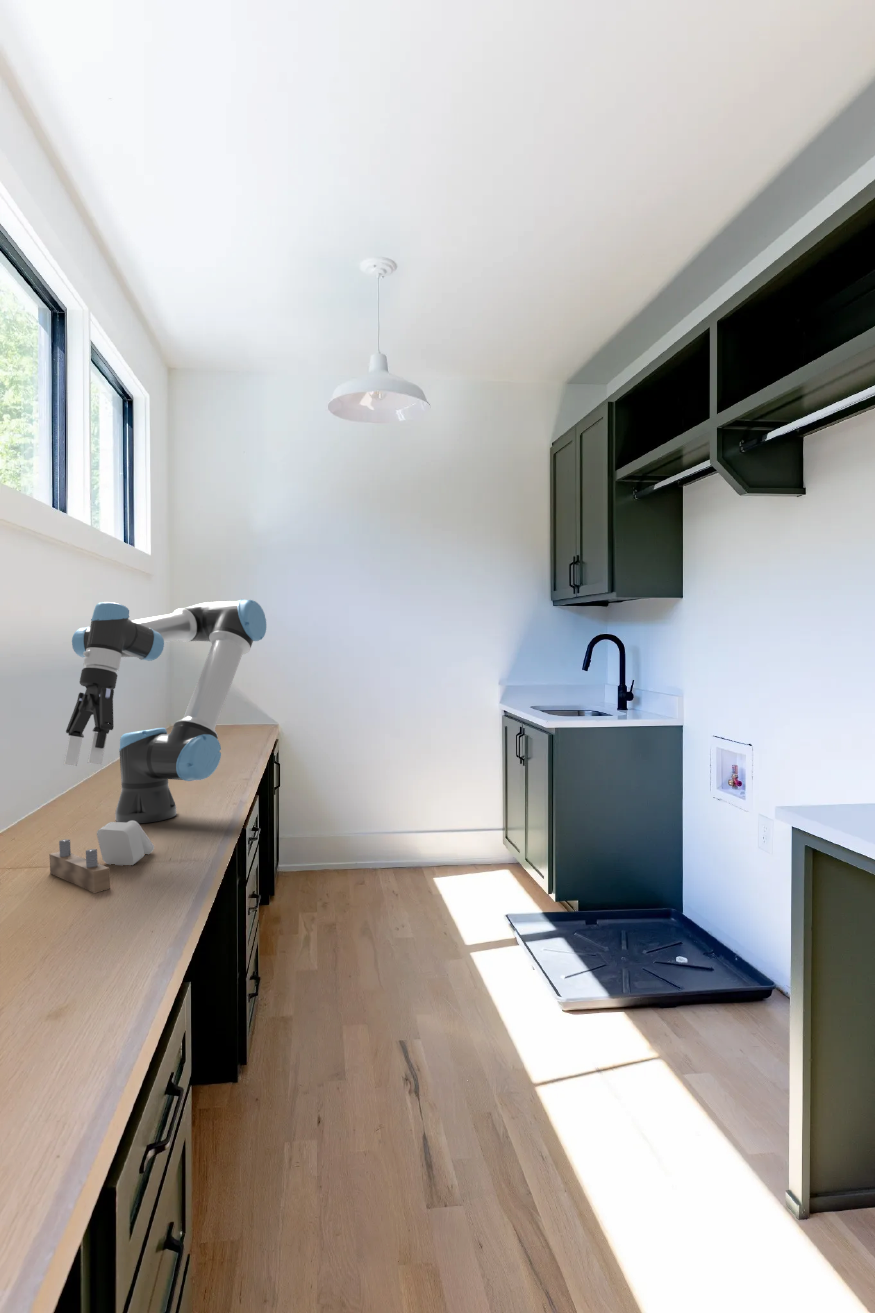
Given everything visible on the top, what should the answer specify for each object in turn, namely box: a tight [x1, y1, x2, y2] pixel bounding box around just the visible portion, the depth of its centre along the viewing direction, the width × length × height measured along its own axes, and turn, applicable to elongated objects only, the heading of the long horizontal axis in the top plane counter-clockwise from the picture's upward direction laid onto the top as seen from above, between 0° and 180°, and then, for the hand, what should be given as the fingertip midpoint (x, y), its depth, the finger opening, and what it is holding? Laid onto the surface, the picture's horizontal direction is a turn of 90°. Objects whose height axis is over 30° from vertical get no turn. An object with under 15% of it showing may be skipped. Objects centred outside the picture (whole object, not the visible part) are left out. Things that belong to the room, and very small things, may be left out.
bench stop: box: [48, 839, 111, 894], centre depth 159 cm, size 20×3×7 cm, turn 47°
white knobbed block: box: [96, 821, 155, 866], centre depth 174 cm, size 8×10×10 cm
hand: (82, 764), depth 177 cm, fingers open, 13 cm apart
